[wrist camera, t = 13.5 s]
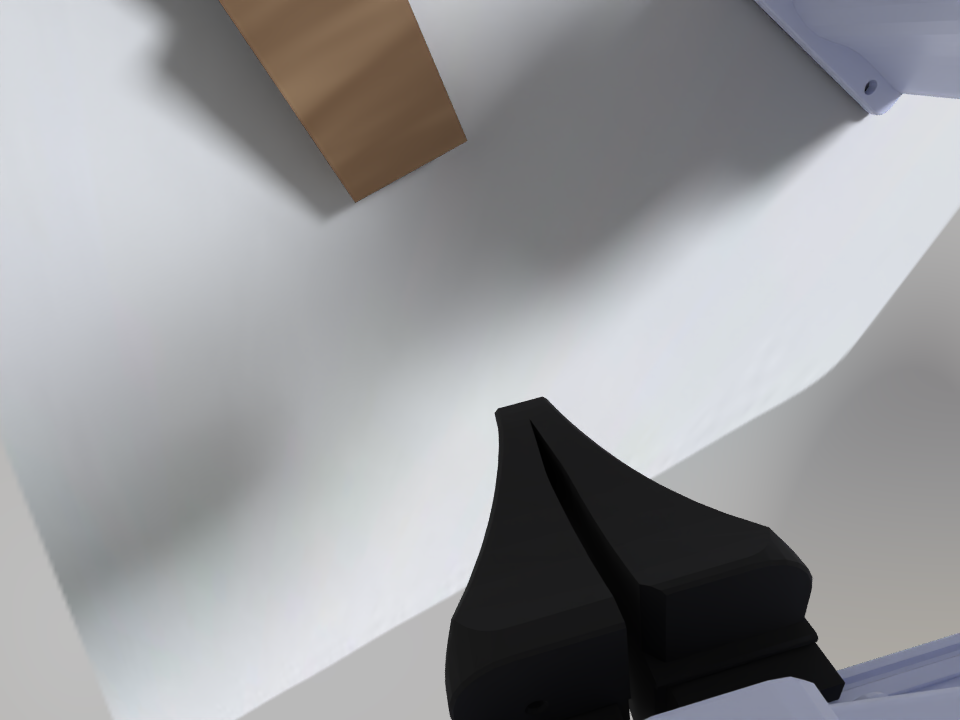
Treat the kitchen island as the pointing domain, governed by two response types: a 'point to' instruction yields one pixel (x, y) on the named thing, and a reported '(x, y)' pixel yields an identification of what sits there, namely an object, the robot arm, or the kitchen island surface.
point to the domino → (355, 83)
